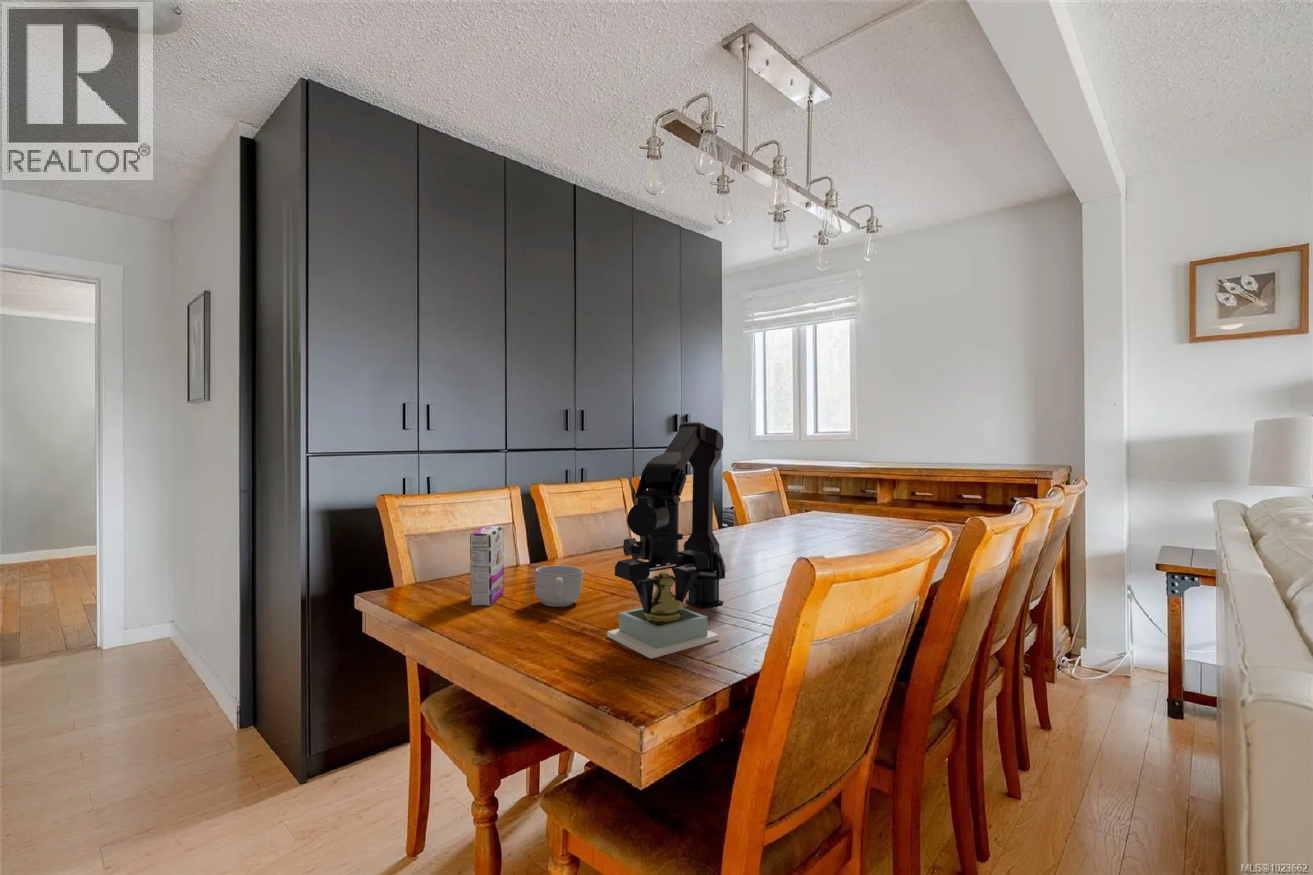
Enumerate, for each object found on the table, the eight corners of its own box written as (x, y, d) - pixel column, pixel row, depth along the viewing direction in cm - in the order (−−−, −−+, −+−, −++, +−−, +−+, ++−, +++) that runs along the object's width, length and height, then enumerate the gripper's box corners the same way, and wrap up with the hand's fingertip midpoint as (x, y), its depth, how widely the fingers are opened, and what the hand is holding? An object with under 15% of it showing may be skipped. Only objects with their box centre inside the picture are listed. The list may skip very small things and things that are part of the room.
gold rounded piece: (635, 625, 114) (635, 572, 114) (664, 617, 119) (664, 566, 119) (661, 634, 109) (662, 580, 109) (690, 626, 114) (690, 573, 114)
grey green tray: (672, 621, 124) (672, 599, 124) (718, 640, 113) (719, 616, 113) (607, 636, 115) (607, 613, 115) (650, 658, 104) (650, 632, 104)
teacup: (540, 597, 142) (541, 563, 142) (586, 597, 142) (586, 563, 142) (526, 614, 128) (526, 577, 128) (576, 615, 128) (576, 578, 128)
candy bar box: (483, 593, 145) (484, 525, 145) (504, 593, 145) (504, 525, 145) (468, 606, 134) (469, 533, 134) (491, 606, 134) (491, 533, 134)
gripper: (675, 518, 126) (674, 592, 126) (599, 526, 115) (598, 608, 115) (710, 525, 117) (710, 605, 117) (632, 535, 106) (631, 623, 106)
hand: (663, 609), depth 114 cm, fingers closed on gold rounded piece, 7 cm apart
